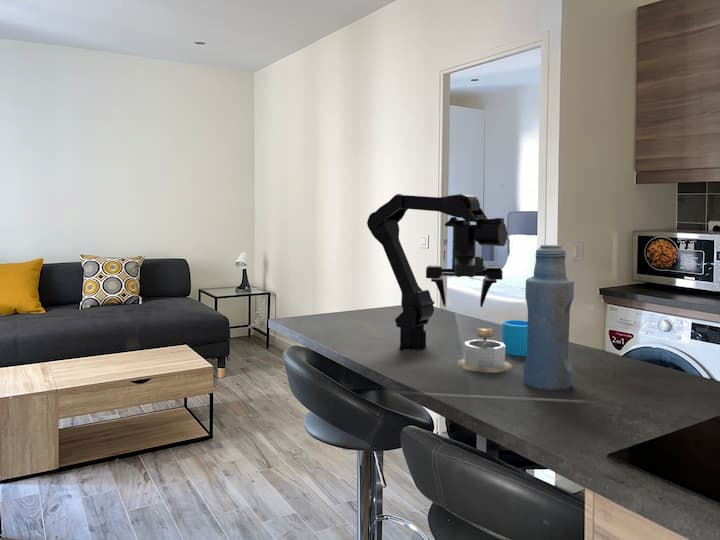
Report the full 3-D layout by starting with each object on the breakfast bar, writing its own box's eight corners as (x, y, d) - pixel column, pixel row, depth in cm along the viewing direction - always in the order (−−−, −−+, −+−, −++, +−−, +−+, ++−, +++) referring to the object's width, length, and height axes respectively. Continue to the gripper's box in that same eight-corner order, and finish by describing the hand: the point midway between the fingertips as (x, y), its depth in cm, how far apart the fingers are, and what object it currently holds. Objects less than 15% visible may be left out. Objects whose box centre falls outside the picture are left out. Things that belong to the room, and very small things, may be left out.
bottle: (565, 395, 113) (571, 247, 110) (516, 387, 119) (521, 245, 116) (575, 383, 121) (581, 244, 118) (529, 376, 127) (533, 243, 124)
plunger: (472, 362, 132) (473, 331, 131) (470, 356, 138) (471, 326, 137) (498, 363, 131) (499, 332, 130) (495, 357, 137) (496, 327, 136)
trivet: (457, 373, 129) (457, 370, 129) (455, 358, 142) (455, 356, 142) (515, 375, 127) (515, 373, 127) (508, 360, 140) (508, 358, 140)
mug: (539, 357, 144) (541, 325, 143) (510, 358, 142) (511, 326, 142) (517, 346, 156) (518, 317, 155) (489, 347, 154) (490, 318, 153)
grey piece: (465, 369, 131) (466, 347, 130) (463, 355, 143) (463, 336, 142) (506, 370, 129) (506, 349, 129) (500, 357, 141) (501, 337, 141)
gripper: (426, 246, 135) (425, 310, 136) (505, 247, 132) (504, 312, 134) (426, 243, 145) (426, 303, 147) (500, 244, 143) (499, 305, 144)
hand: (462, 306), depth 143 cm, fingers open, 9 cm apart
